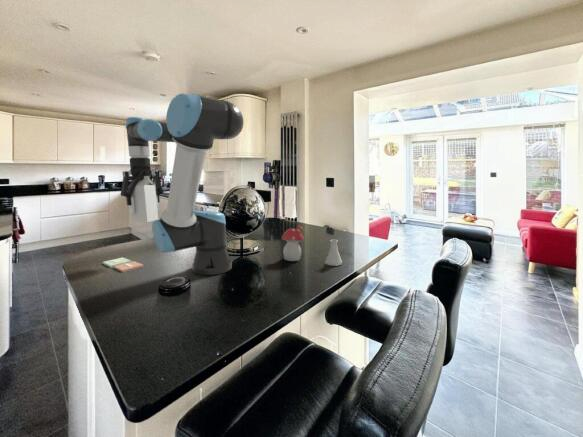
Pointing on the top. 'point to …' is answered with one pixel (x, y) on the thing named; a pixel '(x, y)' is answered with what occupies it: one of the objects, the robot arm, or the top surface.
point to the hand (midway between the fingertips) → (144, 211)
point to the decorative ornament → (292, 244)
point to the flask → (333, 255)
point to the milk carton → (144, 201)
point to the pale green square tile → (116, 262)
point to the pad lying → (128, 266)
